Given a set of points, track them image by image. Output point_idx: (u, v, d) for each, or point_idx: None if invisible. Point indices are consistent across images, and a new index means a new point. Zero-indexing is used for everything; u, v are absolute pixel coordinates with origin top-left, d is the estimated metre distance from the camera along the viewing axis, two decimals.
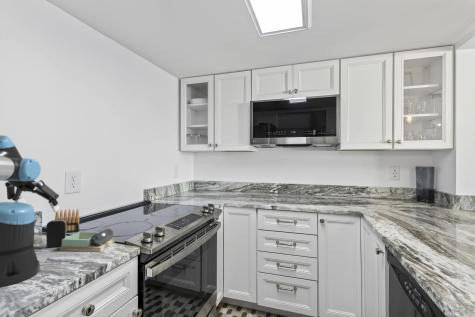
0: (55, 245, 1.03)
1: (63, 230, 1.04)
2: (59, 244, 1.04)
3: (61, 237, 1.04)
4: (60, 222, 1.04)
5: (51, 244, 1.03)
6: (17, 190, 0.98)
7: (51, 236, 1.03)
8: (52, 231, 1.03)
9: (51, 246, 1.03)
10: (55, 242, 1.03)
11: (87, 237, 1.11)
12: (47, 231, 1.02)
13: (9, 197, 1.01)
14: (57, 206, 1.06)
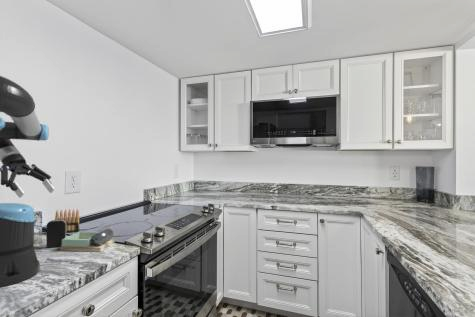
0: (55, 245, 1.03)
1: (63, 230, 1.04)
2: (59, 244, 1.04)
3: (61, 237, 1.04)
4: (60, 222, 1.04)
5: (51, 244, 1.03)
6: (17, 169, 1.06)
7: (51, 236, 1.03)
8: (52, 231, 1.03)
9: (51, 246, 1.03)
10: (55, 242, 1.03)
11: (87, 237, 1.11)
12: (47, 231, 1.02)
13: (6, 178, 0.99)
14: None
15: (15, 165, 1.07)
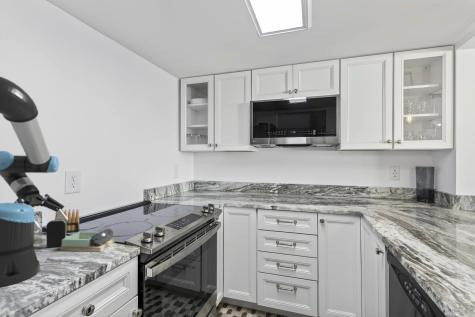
0: (55, 245, 1.03)
1: (63, 230, 1.04)
2: (59, 244, 1.04)
3: (61, 237, 1.04)
4: (60, 222, 1.04)
5: (51, 244, 1.03)
6: (31, 201, 1.05)
7: (51, 236, 1.03)
8: (52, 231, 1.03)
9: (51, 246, 1.03)
10: (55, 242, 1.03)
11: (87, 237, 1.11)
12: (47, 231, 1.02)
13: None
14: None
15: (29, 197, 1.07)
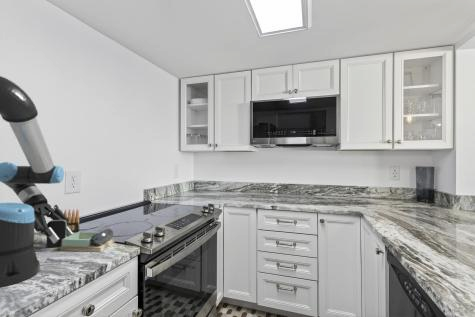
0: (55, 245, 1.03)
1: (63, 230, 1.04)
2: (59, 244, 1.04)
3: (61, 237, 1.04)
4: (60, 222, 1.04)
5: (51, 244, 1.03)
6: (42, 211, 1.04)
7: None
8: None
9: (51, 246, 1.03)
10: None
11: (87, 237, 1.11)
12: None
13: (40, 225, 0.99)
14: None
15: (36, 206, 1.04)
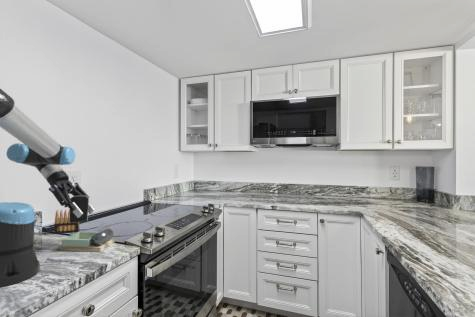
0: (78, 220, 1.05)
1: (86, 205, 1.06)
2: (82, 219, 1.05)
3: (84, 212, 1.06)
4: (83, 197, 1.06)
5: (74, 219, 1.04)
6: (65, 187, 1.05)
7: None
8: None
9: (74, 221, 1.04)
10: None
11: (87, 237, 1.11)
12: None
13: (65, 199, 1.01)
14: None
15: (59, 182, 1.06)
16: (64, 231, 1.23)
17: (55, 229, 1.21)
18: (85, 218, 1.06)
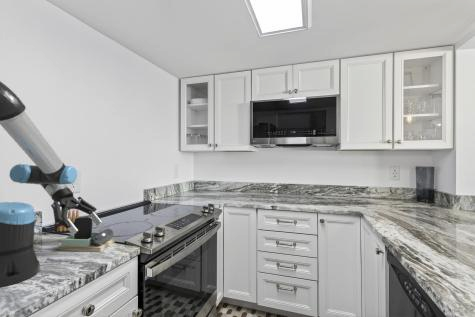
0: None
1: (90, 226, 1.05)
2: None
3: (88, 233, 1.05)
4: (87, 218, 1.05)
5: None
6: (67, 204, 1.04)
7: (79, 232, 1.04)
8: (79, 227, 1.04)
9: None
10: (82, 238, 1.04)
11: None
12: None
13: (60, 216, 0.98)
14: None
15: (65, 200, 1.06)
16: (64, 231, 1.23)
17: (55, 229, 1.21)
18: None
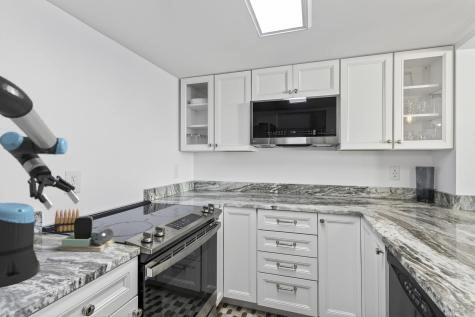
0: None
1: (90, 226, 1.05)
2: None
3: (88, 233, 1.05)
4: (87, 218, 1.05)
5: None
6: (44, 181, 1.07)
7: (79, 232, 1.04)
8: (79, 227, 1.04)
9: None
10: (82, 238, 1.04)
11: None
12: (75, 227, 1.03)
13: (35, 191, 1.00)
14: None
15: (42, 177, 1.08)
16: (64, 231, 1.23)
17: (55, 229, 1.21)
18: None
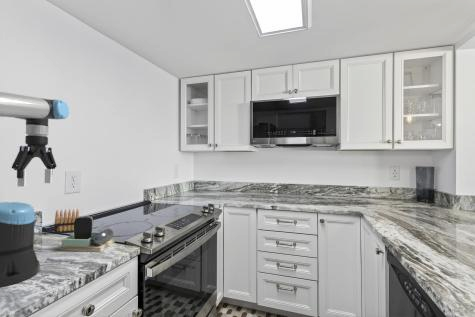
0: None
1: (90, 226, 1.05)
2: None
3: (88, 233, 1.05)
4: (87, 218, 1.05)
5: None
6: (35, 154, 1.01)
7: (79, 232, 1.04)
8: (79, 227, 1.04)
9: None
10: (82, 238, 1.04)
11: None
12: (75, 227, 1.03)
13: (20, 165, 0.95)
14: None
15: (35, 147, 1.02)
16: (64, 231, 1.23)
17: (55, 229, 1.21)
18: None
